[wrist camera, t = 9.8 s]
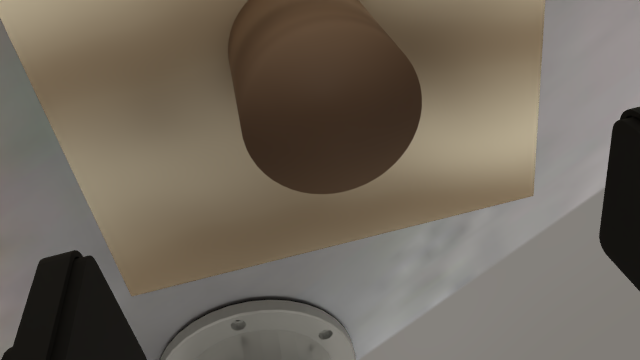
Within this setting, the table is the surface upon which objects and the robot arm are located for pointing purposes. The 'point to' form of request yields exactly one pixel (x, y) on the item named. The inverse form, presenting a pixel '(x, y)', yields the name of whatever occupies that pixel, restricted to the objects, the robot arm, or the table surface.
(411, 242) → the table surface
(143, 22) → the cover
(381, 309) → the table surface
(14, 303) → the table surface
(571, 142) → the table surface
